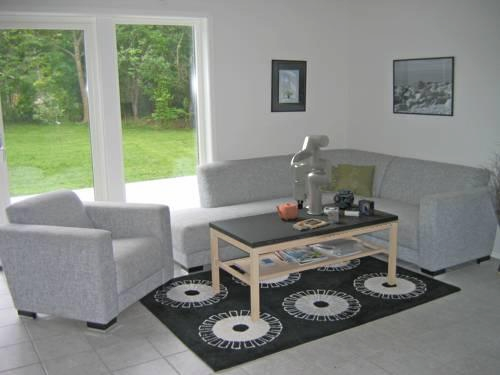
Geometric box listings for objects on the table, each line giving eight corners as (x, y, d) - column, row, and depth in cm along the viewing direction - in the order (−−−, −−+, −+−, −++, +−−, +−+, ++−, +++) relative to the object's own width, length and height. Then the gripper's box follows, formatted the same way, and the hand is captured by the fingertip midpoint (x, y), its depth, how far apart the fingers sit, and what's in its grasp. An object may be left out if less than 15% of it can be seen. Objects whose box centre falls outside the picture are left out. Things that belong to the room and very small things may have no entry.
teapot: (295, 215, 399) (295, 199, 396) (303, 219, 388) (303, 203, 385) (271, 218, 391) (271, 203, 389) (278, 222, 380) (278, 206, 378)
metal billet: (328, 222, 378) (328, 211, 376) (333, 220, 381) (333, 209, 380) (332, 223, 374) (332, 212, 373) (338, 221, 378) (338, 211, 376)
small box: (357, 214, 396) (357, 200, 394) (362, 212, 400) (362, 198, 398) (369, 216, 389) (369, 202, 386) (374, 214, 393) (374, 201, 391)
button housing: (293, 228, 365) (293, 224, 364) (300, 226, 369) (300, 222, 368) (300, 231, 359) (300, 226, 359) (307, 229, 363) (307, 224, 363)
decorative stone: (348, 211, 403) (348, 192, 400) (329, 208, 413) (329, 190, 410) (357, 207, 416) (357, 188, 412) (339, 204, 425) (339, 186, 422)
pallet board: (295, 224, 375) (295, 221, 374) (312, 219, 385) (312, 216, 384) (311, 229, 362) (311, 226, 362) (329, 224, 372) (329, 221, 372)
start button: (295, 227, 364) (295, 223, 363) (300, 226, 367) (300, 221, 366) (300, 228, 361) (300, 224, 360) (304, 227, 363) (304, 223, 363)
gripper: (288, 182, 360) (288, 207, 365) (303, 185, 349) (303, 212, 353) (296, 180, 365) (296, 205, 369) (311, 183, 353) (312, 210, 358)
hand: (300, 208), depth 361 cm, fingers closed
